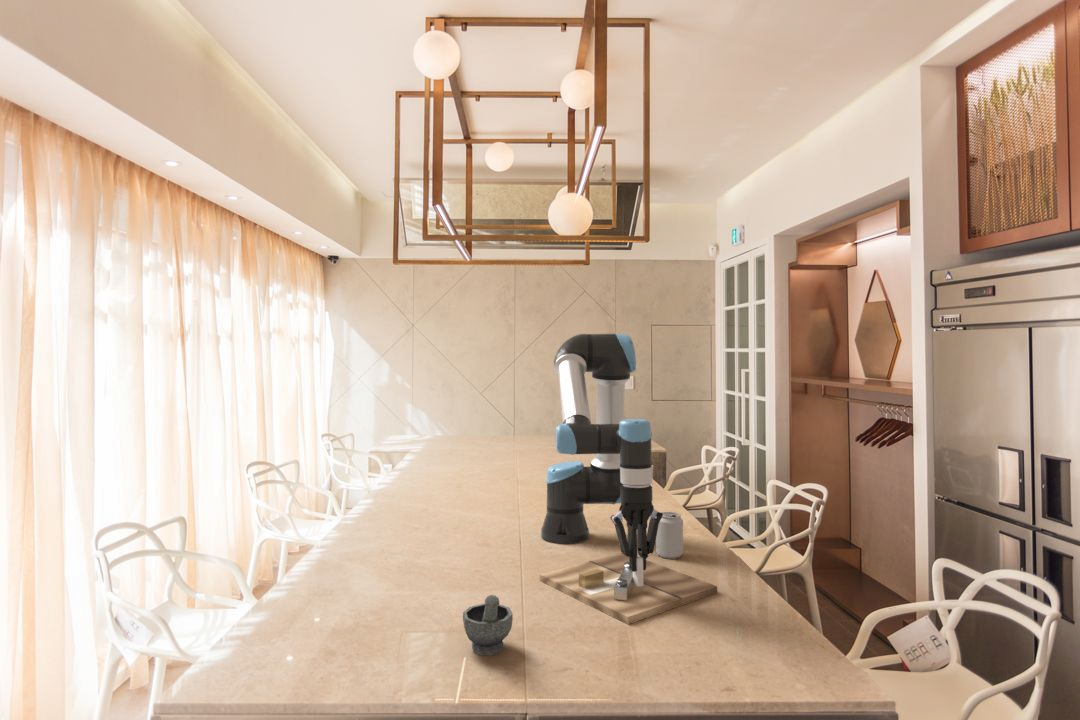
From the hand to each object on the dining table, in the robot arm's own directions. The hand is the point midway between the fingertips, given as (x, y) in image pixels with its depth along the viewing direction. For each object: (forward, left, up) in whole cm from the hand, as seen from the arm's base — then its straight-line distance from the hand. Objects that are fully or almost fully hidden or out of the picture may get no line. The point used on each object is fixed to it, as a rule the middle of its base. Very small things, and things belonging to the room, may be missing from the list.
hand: (638, 584), depth 147 cm
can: (-17, +30, -4) cm, 35 cm away
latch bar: (-3, 0, -2) cm, 4 cm away
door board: (-7, +3, -3) cm, 8 cm away
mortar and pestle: (+1, -42, -4) cm, 42 cm away
